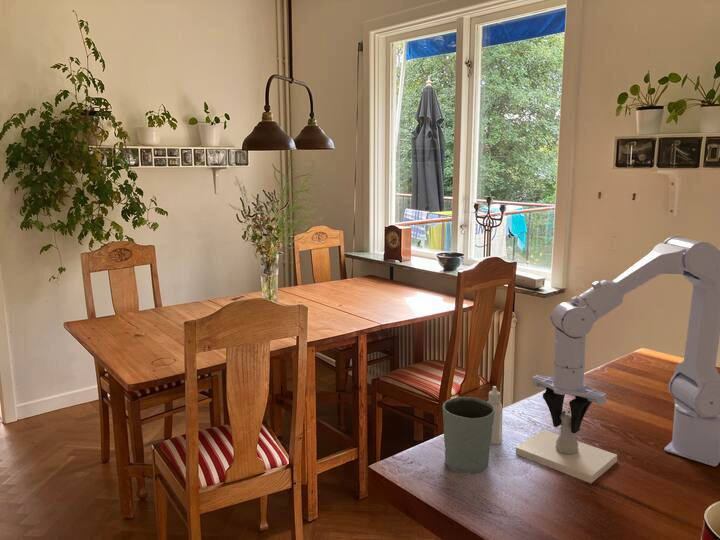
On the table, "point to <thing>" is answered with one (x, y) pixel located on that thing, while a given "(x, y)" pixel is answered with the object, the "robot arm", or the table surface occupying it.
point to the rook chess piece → (566, 436)
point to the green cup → (467, 433)
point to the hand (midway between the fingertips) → (566, 428)
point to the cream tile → (567, 457)
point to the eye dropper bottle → (496, 416)
